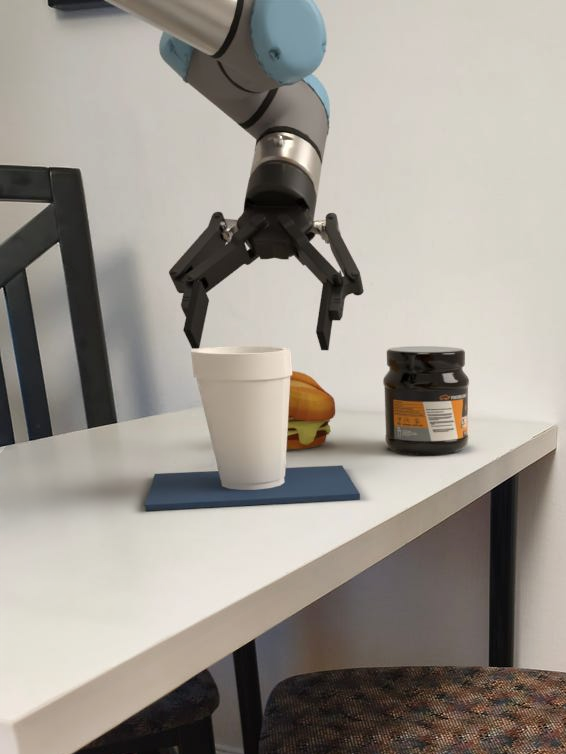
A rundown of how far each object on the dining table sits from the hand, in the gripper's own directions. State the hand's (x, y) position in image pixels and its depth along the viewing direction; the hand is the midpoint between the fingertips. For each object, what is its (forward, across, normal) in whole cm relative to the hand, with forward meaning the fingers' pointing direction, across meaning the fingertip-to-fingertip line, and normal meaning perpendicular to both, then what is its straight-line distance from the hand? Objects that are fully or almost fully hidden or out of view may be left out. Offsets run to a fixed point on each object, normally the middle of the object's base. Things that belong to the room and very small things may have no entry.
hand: (256, 340), depth 91 cm
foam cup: (+14, 0, +6) cm, 15 cm away
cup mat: (+14, 0, +6) cm, 15 cm away
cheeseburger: (-3, -2, +24) cm, 24 cm away
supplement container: (-3, +15, +23) cm, 28 cm away
